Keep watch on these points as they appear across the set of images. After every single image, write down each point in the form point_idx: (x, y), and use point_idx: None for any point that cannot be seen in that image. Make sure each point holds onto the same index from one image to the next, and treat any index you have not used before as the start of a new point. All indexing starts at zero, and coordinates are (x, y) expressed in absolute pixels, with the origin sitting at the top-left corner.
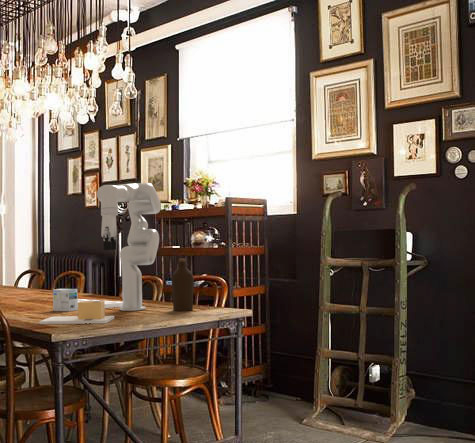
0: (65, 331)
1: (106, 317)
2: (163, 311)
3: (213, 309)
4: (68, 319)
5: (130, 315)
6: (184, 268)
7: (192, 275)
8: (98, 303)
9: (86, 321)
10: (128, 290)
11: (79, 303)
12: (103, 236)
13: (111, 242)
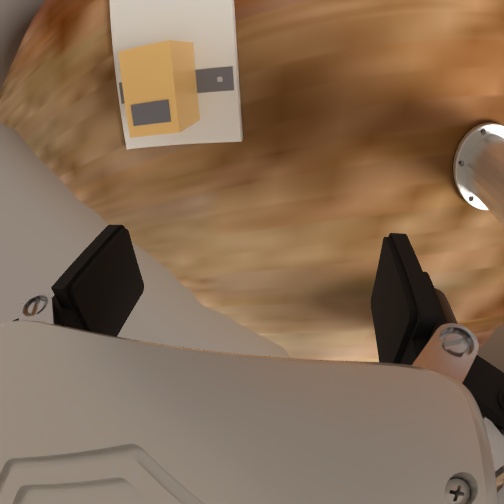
0: (19, 110)
1: (192, 128)
2: None
3: None
4: (142, 22)
5: (327, 177)
6: None
7: None
8: (130, 127)
9: (119, 93)
10: (499, 184)
11: (120, 57)
12: (85, 341)
13: (395, 332)
